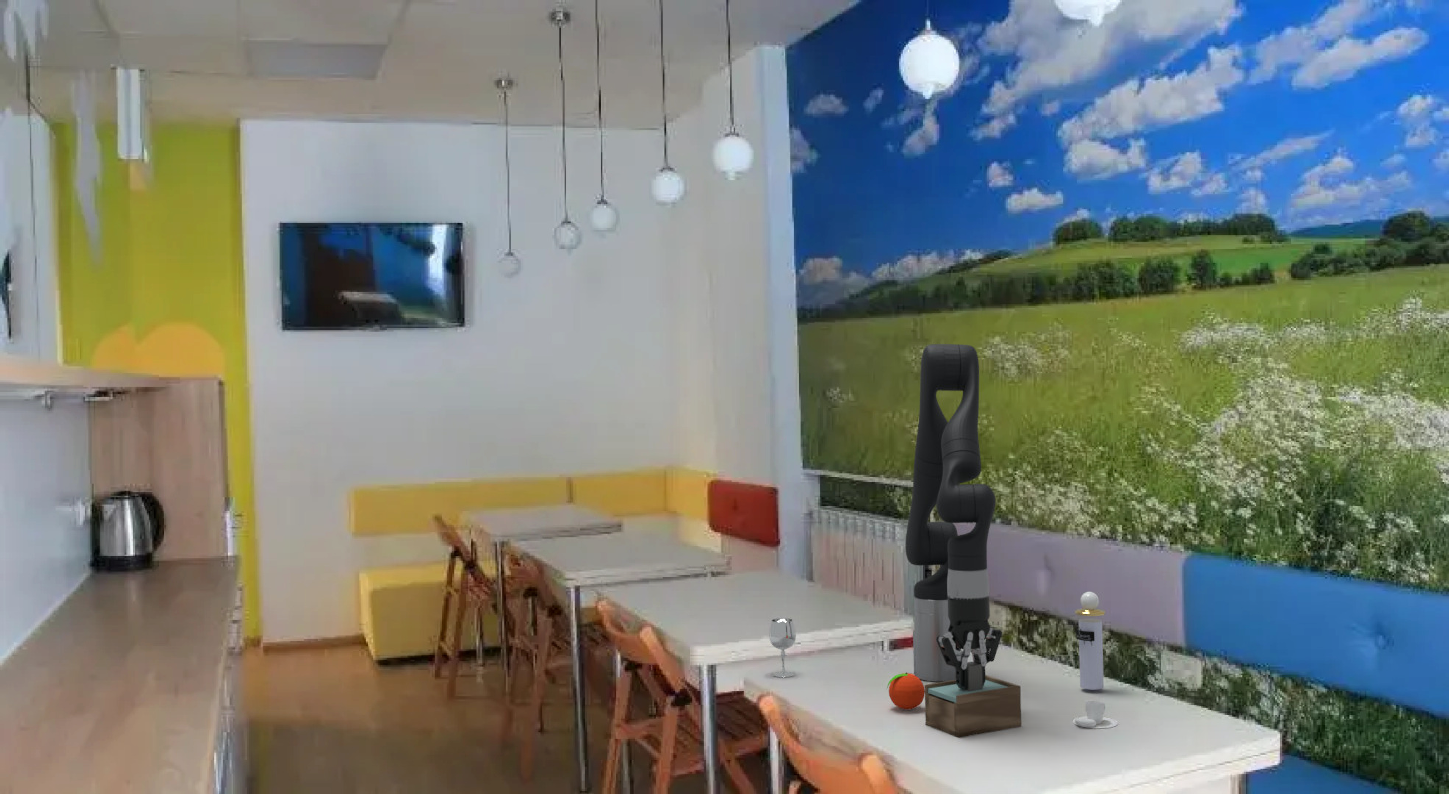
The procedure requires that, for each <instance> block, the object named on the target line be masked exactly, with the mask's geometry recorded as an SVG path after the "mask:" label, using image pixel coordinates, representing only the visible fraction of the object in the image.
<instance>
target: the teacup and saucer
mask: <svg viewBox="0 0 1449 794" xmlns="http://www.w3.org/2000/svg"><path fill="white" fill-rule="evenodd" d="M1105 709H1106V705H1105V703H1104V702H1103V701H1101V700H1086V701H1085V712H1086V716H1085V715H1084V716H1079V717H1076V718H1074V719H1072V723H1073V724H1074V725H1076V726H1079V727H1081V728H1087V729H1111V728H1114V727H1116V726H1118V725H1119V723H1118V721H1117V720H1116V719H1113V718H1110V717H1105V716H1104V713H1105ZM1103 720H1104V721H1107V722H1110V724H1109V725H1107V726H1096V725H1100V724H1101V723H1102V721H1103Z"/></svg>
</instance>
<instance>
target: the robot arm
mask: <svg viewBox="0 0 1449 794" xmlns="http://www.w3.org/2000/svg"><path fill="white" fill-rule="evenodd" d="M979 362H980V361H979V357H978V352H977V350H976V349H975V347H974V346H972V345H970V344H956V343H955V344H954V343H953V344H949V343H948V344H946V343H945V344H944V343H937V344H936V343H935V344H934V343H933V344H928V345H926V346H925V347H924V349H923V351H922V355H921V361H920V375H919V376H920V378H919V380H920V381H919V383H920V386H919V414H918V416H919V417H918V423H917V424H918V425H917V434H916V441H915V451H914V462H913V478H912V479H913V481H912V482H913V484H912V496H911V504H910V510H909V515H908V522H907V526H906V533H905V544H904V545H905V556H906V558H907V561H908V562H909V563H910V564H911V565H913V566H922V567H923V566H939V568H938V570H937V571H936V572H934V573H933V574H932V575H930V576H928V577H926V578H924V579H921V580H919V581H917V582H916V583H915V584H914V587H913V599H914V600H913V602H914V607H913V608H914V630H913V631H912V640H913V642H912V645H913V675H915V676H917V677H918V678H919V679H920V680H921V681H922V680H924V681H928V682H929V681H930V682H945V681H951V680H956V684H957V685H958V687H959V688H960V689H963V690H965V689H968V670H967V669H966V668H967V662H969V661H968V660H969V658H970V656H972V662H975V663H978V664H981V665H982V683H983V686H984V683H985V675H986V666H987V664H989V663H991V662H994V661H995V658H996V654H997V651H998V649H999V645H1000V643H1001V639H1002V635H1003V632H1002V630H1000V629H995V628H993V627H991V625H990V623H989V619H990V617H991V613H990V612H991V610H990V580H989V573H988V557H987V556H988V550H987V549H988V547H987V545H988V537H989V532H990V527H991V523H992V520H993V515H994V513H995V508H996V495H995V493H994V491H993V489H992V488H991V487H990V486H989V485H987V484H984V483H973V484H971V483H970V484H969V483H967V482H970V481H973V480H975V479H977V478H978V477H979V476H980V475H981V471H982V461H981V452H980V443H979V409H980V407H979V406H980V405H979V404H980V402H979V401H980V363H979ZM938 391H942V392H943V391H946V392H947V391H948V392H957V391H958V392H962V397H961V401H960V403H959V405H958V406H957V409H956V410H955V412H954V413H953V414H952V415H951V417H950V419H949V420H948V419H947V418H946V417H945V414H944V413H943V410H942V409H941V407H940V404H939V402H938V398H937V392H938ZM965 483H967V484H965ZM934 508H936V512H937V514H938V516H939V518H940V520H942V521H928V520H929V518H930V516H931V513H932V512H933V510H934ZM962 523H963V524H965V523H967V524H970V523H971V524H972V523H975V524H974V527H973V528H972V530H971V531H970V532H967V533H964V534H958V530H957V528H956V527H957V526H955V524H962Z"/></svg>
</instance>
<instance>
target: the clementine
mask: <svg viewBox="0 0 1449 794" xmlns="http://www.w3.org/2000/svg"><path fill="white" fill-rule="evenodd" d="M886 687H887V688H886V689H888V696H889V699H890V700H891V702H892V703H893V704H894V706H896V707H897V708H898V709H901V710H905V711H906V710H907V711H909V710H910V711H911V710H914V709H915V708H917V707H919V706H920V705H921V704H922V703H923V700H924V699H925V684H923V681H922V679H919V678H918V677H917V676H916V675H915V674H914V673H908V672H902V673H899V674H895V675H893V677H892V678H891V679H890V680H889V681H888V683H887V686H886Z"/></svg>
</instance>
